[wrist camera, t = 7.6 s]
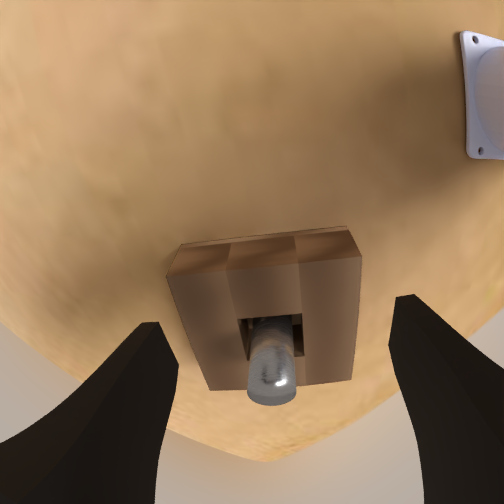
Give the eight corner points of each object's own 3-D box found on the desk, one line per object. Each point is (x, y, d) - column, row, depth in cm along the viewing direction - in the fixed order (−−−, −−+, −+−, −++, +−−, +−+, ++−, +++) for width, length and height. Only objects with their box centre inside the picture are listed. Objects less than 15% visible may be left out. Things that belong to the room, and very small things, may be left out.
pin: (286, 287, 20) (292, 375, 13) (293, 316, 21) (299, 402, 15) (249, 294, 20) (241, 381, 14) (258, 321, 21) (253, 407, 15)
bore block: (346, 226, 18) (361, 256, 15) (343, 344, 23) (351, 379, 20) (181, 244, 19) (165, 276, 16) (215, 355, 24) (209, 390, 21)
